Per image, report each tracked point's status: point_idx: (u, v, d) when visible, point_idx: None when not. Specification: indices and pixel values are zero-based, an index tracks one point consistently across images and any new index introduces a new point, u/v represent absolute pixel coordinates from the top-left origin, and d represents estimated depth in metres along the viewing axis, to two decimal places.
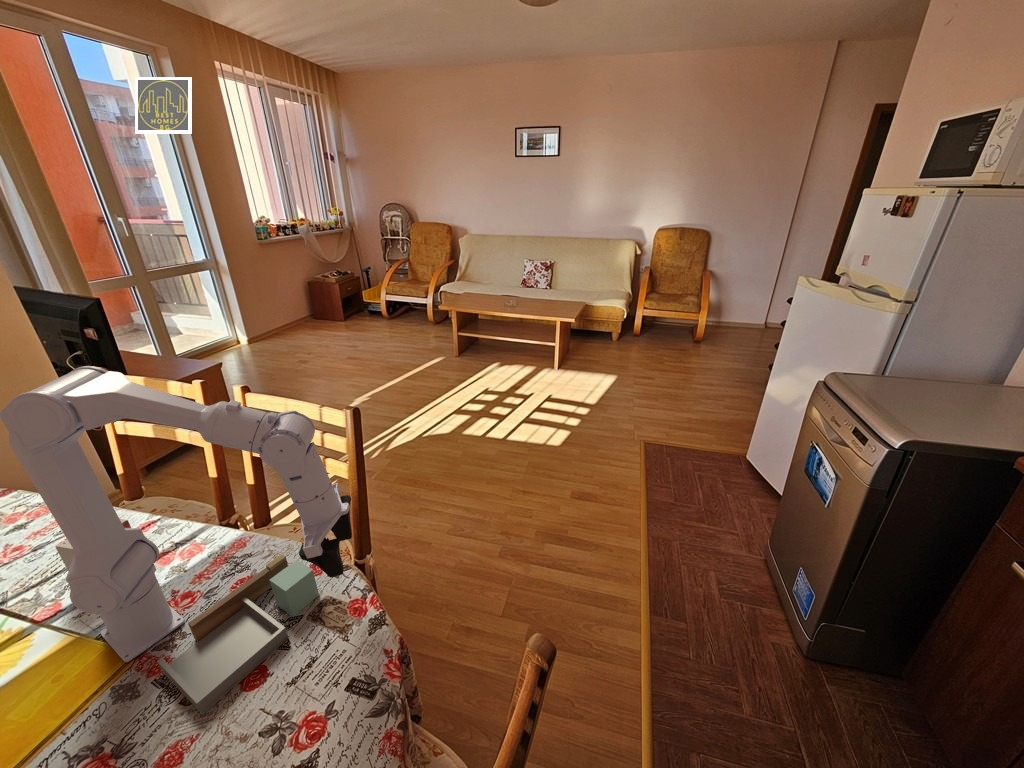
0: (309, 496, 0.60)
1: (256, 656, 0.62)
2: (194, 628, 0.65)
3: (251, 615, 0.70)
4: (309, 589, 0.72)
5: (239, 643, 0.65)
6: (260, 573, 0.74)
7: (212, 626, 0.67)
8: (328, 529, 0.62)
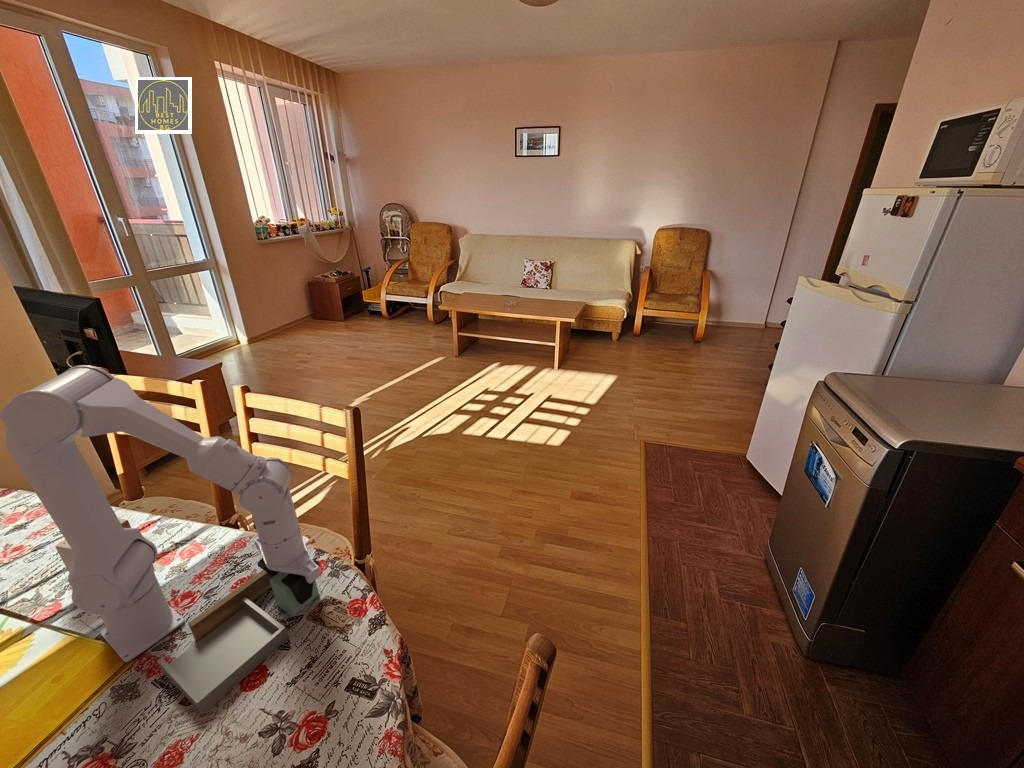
0: (278, 539, 0.65)
1: (256, 656, 0.62)
2: (194, 628, 0.65)
3: (251, 615, 0.70)
4: None
5: (239, 643, 0.65)
6: (260, 573, 0.74)
7: (212, 626, 0.67)
8: None
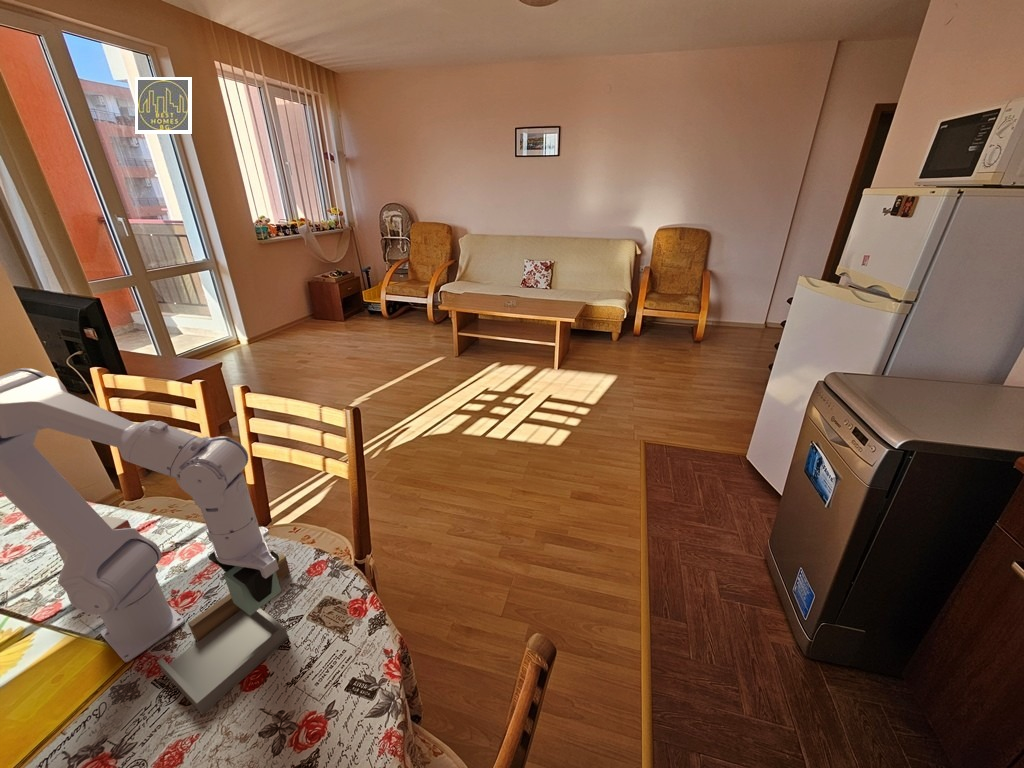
0: (223, 530, 0.57)
1: (256, 656, 0.62)
2: (194, 628, 0.65)
3: (251, 615, 0.70)
4: None
5: (239, 643, 0.65)
6: None
7: (212, 626, 0.67)
8: None
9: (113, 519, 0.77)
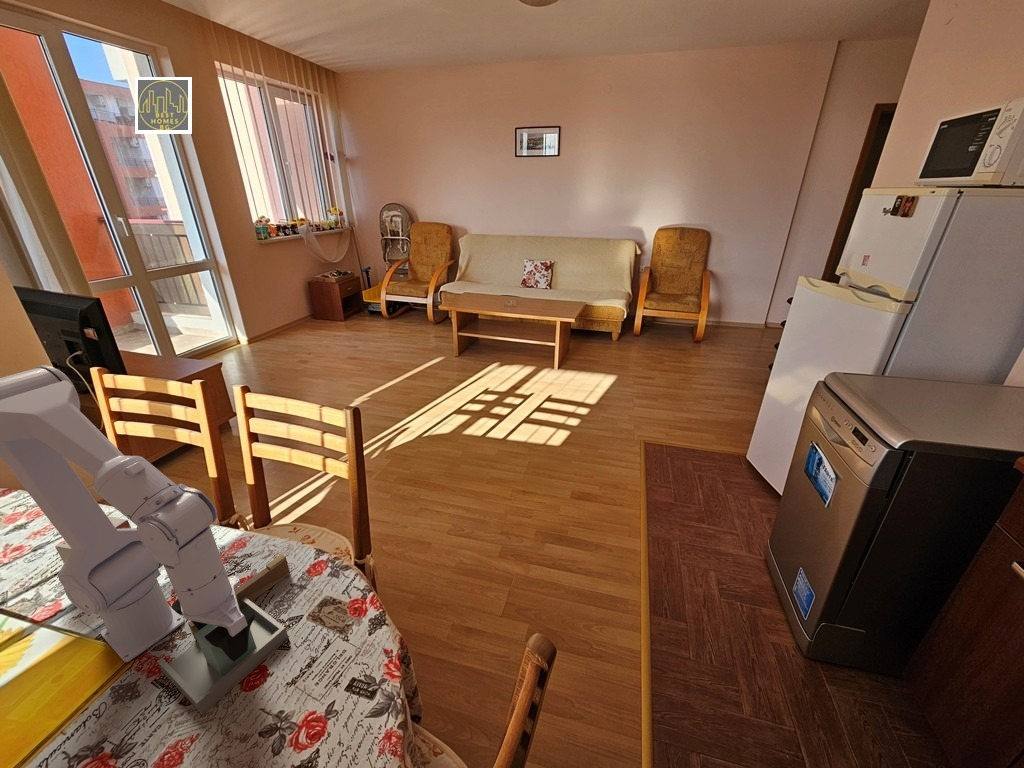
0: (181, 587, 0.54)
1: (256, 656, 0.62)
2: (194, 628, 0.65)
3: None
4: None
5: None
6: (260, 573, 0.74)
7: None
8: (237, 602, 0.58)
9: (113, 519, 0.77)
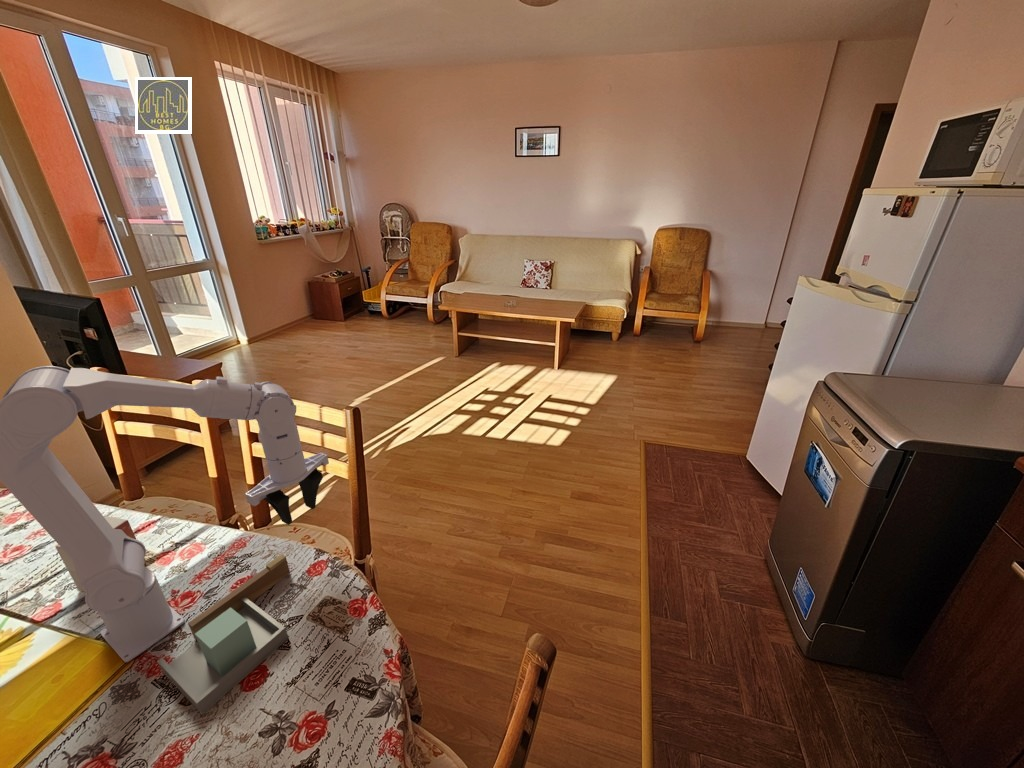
0: (290, 453, 0.71)
1: (256, 656, 0.62)
2: (194, 628, 0.65)
3: (251, 615, 0.70)
4: (244, 643, 0.63)
5: None
6: (260, 573, 0.74)
7: None
8: None
9: (113, 519, 0.77)
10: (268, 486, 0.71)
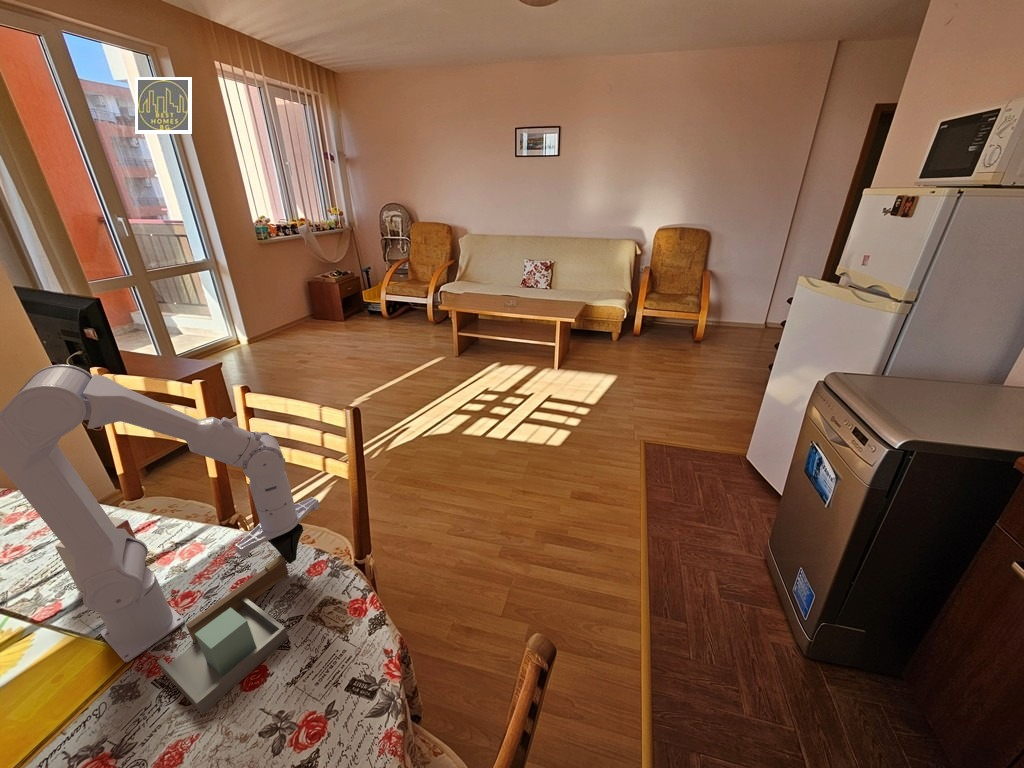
0: (279, 504, 0.71)
1: (256, 656, 0.62)
2: (192, 630, 0.65)
3: (251, 615, 0.70)
4: (244, 643, 0.63)
5: None
6: (258, 574, 0.73)
7: None
8: None
9: (113, 519, 0.77)
10: (258, 536, 0.72)
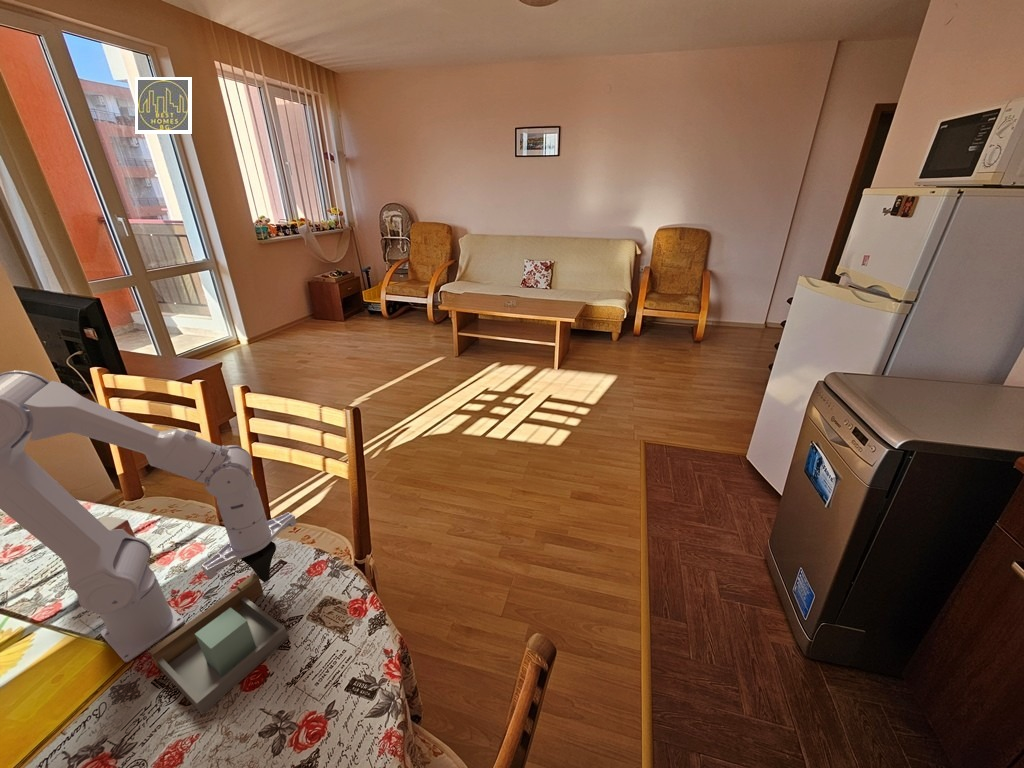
0: (247, 522, 0.67)
1: (256, 656, 0.62)
2: (156, 656, 0.61)
3: (251, 615, 0.70)
4: (244, 643, 0.63)
5: None
6: (230, 594, 0.70)
7: (176, 653, 0.63)
8: None
9: (113, 519, 0.77)
10: (227, 555, 0.68)
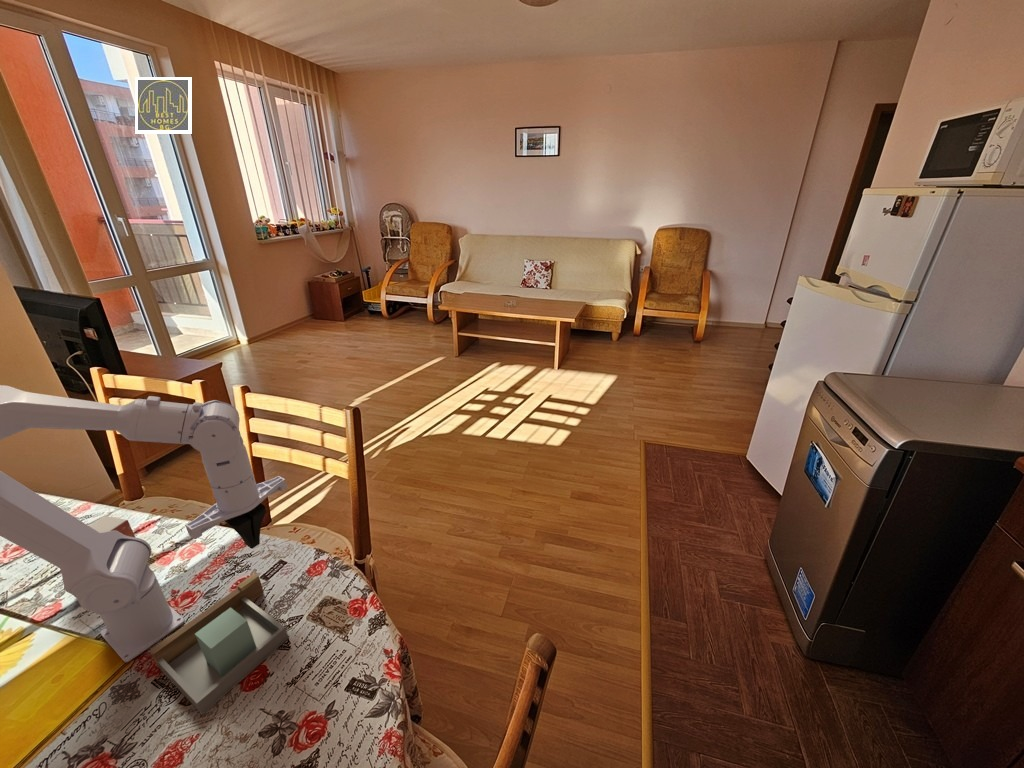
0: (234, 481, 0.64)
1: (256, 656, 0.62)
2: (156, 656, 0.61)
3: (251, 615, 0.70)
4: (244, 643, 0.63)
5: None
6: (230, 594, 0.70)
7: (176, 653, 0.63)
8: (258, 485, 0.72)
9: (113, 519, 0.77)
10: (213, 516, 0.64)
